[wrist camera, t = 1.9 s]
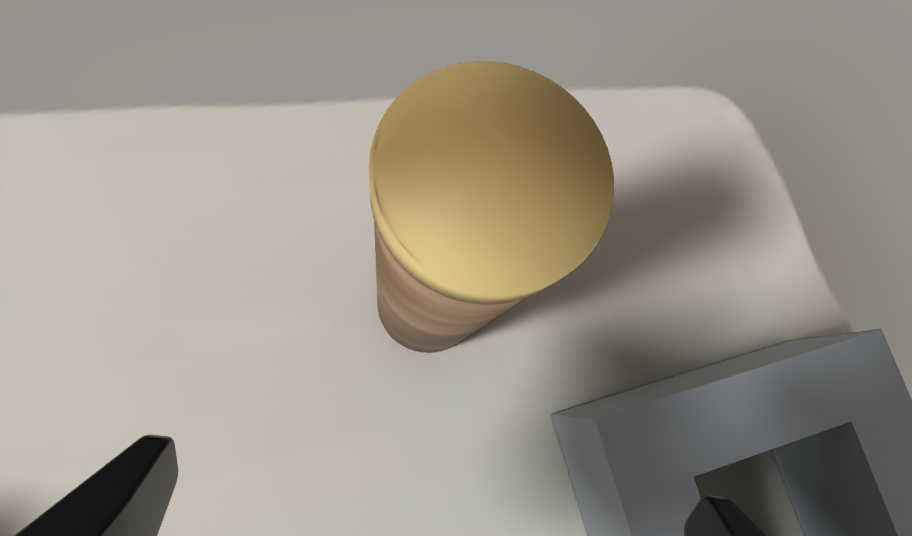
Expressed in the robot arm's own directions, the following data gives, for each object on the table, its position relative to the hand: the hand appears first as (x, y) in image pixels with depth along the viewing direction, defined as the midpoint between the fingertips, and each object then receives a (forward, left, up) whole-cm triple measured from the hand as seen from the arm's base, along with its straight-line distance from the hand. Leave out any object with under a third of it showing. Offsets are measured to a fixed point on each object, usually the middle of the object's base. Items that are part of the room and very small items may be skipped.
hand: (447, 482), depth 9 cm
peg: (+5, -2, -11) cm, 13 cm away
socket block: (-6, -11, -11) cm, 17 cm away
